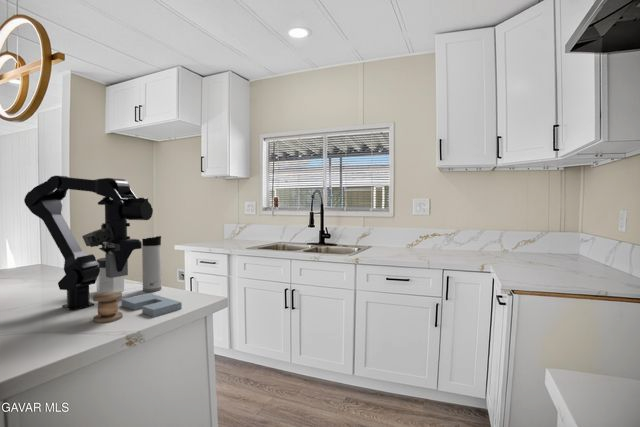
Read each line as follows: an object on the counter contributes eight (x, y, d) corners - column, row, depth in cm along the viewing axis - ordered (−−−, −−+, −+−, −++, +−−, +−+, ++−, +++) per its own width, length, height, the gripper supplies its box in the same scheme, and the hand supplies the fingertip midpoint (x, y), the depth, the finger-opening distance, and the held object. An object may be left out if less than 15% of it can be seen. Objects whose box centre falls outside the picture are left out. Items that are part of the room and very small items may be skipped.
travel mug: (154, 292, 123) (154, 237, 122) (138, 291, 124) (138, 236, 123) (166, 288, 129) (165, 235, 128) (150, 287, 130) (150, 234, 130)
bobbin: (88, 319, 95) (88, 295, 95) (115, 312, 101) (114, 290, 101) (100, 324, 91) (100, 300, 91) (127, 317, 97) (127, 294, 97)
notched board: (121, 305, 108) (121, 299, 108) (149, 298, 115) (149, 292, 115) (153, 316, 98) (153, 309, 98) (181, 308, 105) (181, 302, 105)
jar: (91, 295, 119) (91, 261, 118) (101, 289, 127) (100, 257, 126) (120, 294, 121) (119, 260, 120) (127, 288, 129) (127, 256, 128)
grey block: (105, 276, 103) (105, 251, 103) (123, 273, 108) (122, 249, 107) (110, 278, 102) (110, 252, 101) (127, 275, 106) (127, 250, 106)
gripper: (72, 219, 103) (73, 271, 103) (101, 222, 92) (102, 280, 93) (112, 218, 112) (113, 265, 112) (142, 220, 101) (143, 273, 102)
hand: (117, 270), depth 105 cm, fingers closed on grey block, 3 cm apart
